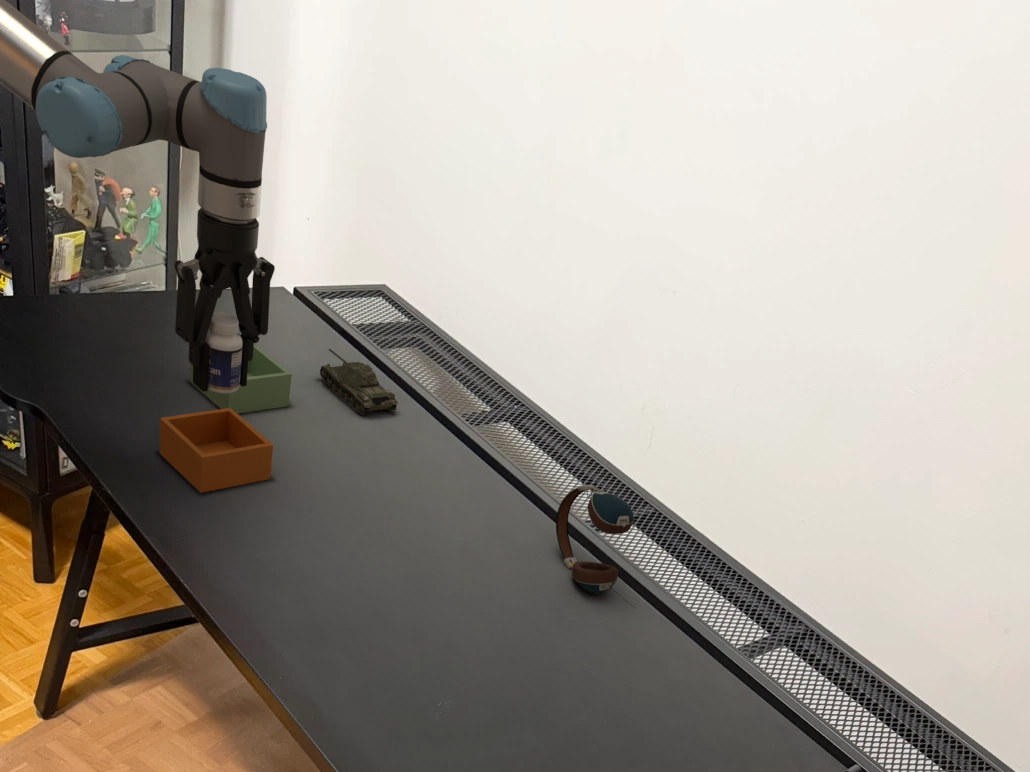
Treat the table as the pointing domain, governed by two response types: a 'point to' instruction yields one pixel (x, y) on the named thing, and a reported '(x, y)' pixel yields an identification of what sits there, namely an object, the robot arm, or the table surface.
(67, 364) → the table surface
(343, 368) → the toy tank
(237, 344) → the pill bottle
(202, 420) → the amber bin
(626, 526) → the headphones
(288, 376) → the green bin
